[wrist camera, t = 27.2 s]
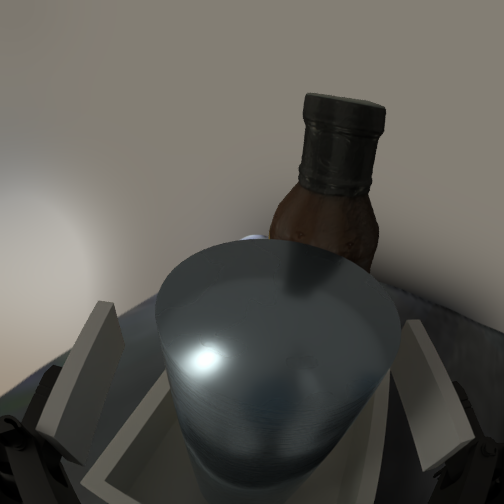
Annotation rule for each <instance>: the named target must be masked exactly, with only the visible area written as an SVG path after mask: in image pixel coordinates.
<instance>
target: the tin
mask: <svg viewBox="0 0 504 504" xmlns="http://www.w3.org/2000/svg"><path fill="white" fill-rule="evenodd" d="M155 317H156V323H157V328H158V334H159V339H160V344H161V349H162V354H163V359H164V363H165V368H166V372H167V377H168V381H169V385H170V390H171V394H172V398H173V402H174V406H175V410H176V413H177V417H178V421H179V425H180V428H181V432H182V435H183V439H184V442H185V446H186V449H187V452H188V455H189V459H190V462H191V465H192V468H193V471H194V474H195V477H196V480H197V483H198V486H199V489H200V491H201V493H202V495H203V497H204V498H205V500H206V501H207V502H208V503H209V504H284V503H285V502H286V501H287V500H288V499H289V498H290V497H291V496H292V495H293V494H294V493H295V492H296V491H297V490H298V489H299V488H300V486H301V485H302V484H303V483H304V482H305V481H306V480H307V479H308V478H309V477H310V476H311V474H312V473H313V472H314V471H315V470H316V469H317V468H318V466H319V465H320V464H321V463H322V462H323V461H324V459H325V458H326V457H327V456H328V455H329V453H330V452H331V451H332V450H333V448H334V447H335V446H336V445H337V443H338V442H339V441H340V440H341V438H342V437H343V436H344V434H345V433H346V432H347V431H348V429H349V428H350V427H351V425H352V424H353V422H354V421H355V420H356V418H357V417H358V416H359V414H360V413H361V411H362V410H363V408H364V407H365V406H366V404H367V403H368V401H369V400H370V398H371V397H372V395H373V394H374V392H375V391H376V389H377V388H378V386H379V385H380V383H381V381H382V380H383V378H384V377H385V375H386V373H387V372H388V370H389V368H390V367H391V365H392V363H393V361H394V359H395V357H396V355H397V353H398V350H399V346H400V342H401V324H400V318H399V315H398V311H397V309H396V307H395V304H394V302H393V300H392V299H391V297H390V296H389V294H388V293H387V291H386V290H385V289H384V288H383V287H382V285H381V284H380V283H379V282H378V281H377V280H376V279H374V277H372V276H371V275H370V274H369V273H368V272H366V271H365V270H364V269H362V268H361V267H359V266H358V265H356V264H355V263H353V262H351V261H349V260H348V259H346V258H344V257H342V256H340V255H337V254H335V253H333V252H330V251H327V250H325V249H322V248H319V247H315V246H312V245H308V244H303V243H299V242H293V241H286V240H276V239H248V240H239V241H233V242H228V243H223V244H220V245H216V246H212V247H210V248H207V249H204V250H202V251H200V252H198V253H196V254H194V255H192V256H190V257H189V258H187V259H186V260H184V261H183V262H181V263H180V264H179V265H178V266H177V267H176V268H174V269H173V270H172V272H171V273H170V274H169V275H168V276H167V278H166V279H165V281H164V282H163V284H162V286H161V288H160V290H159V293H158V296H157V301H156V310H155Z"/></svg>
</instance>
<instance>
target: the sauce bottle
mask: <svg viewBox="0 0 504 504" xmlns="http://www.w3.org/2000/svg"><path fill="white" fill-rule="evenodd" d="M385 115H386V109H385V107H384V106H381V105H379V104H376V103H373V102H370V101H366V100H358V99H351V98H345V97H336V96H331V95H324V94H317V93H307V94H306V96H305V101H304V108H303V119H304V122H305V125H306V128H305V136H304V146H303V154H302V161H301V164H300V165H299V176H298V179H299V182H298V183H297V184H296V185H295V187H293V188H292V190H291V191H290V192H289V193H288V194H287V195H286V197H285V198H284V199H283V201H282V202H281V203H280V204H279V205H278V208H277V210H276V212H275V214H274V217H273V220H272V224H271V226H270V230H269V239H276V240H286V241H293V242H299V243H303V244H308V245H312V246H315V247H319V248H322V249H325V250H327V251H330V252H333V253H335V254H337V255H340V256H342V257H344V258H346V259H348V260H349V261H351V262H353V263H355V264H356V265H358V266H359V267H361V268H362V269H364V270H365V271H366V272H368V273H369V274H370V267H371V264H372V260H373V257H374V254H375V251H376V248H377V245H378V239H379V226H378V223H377V222H376V218H375V215H374V212H373V208H372V206H371V202H370V199H369V195H368V193H369V191H370V186H371V184H372V177H371V176H372V173H373V165H374V160H375V154H376V149H377V144H378V140H379V138H380V136H381V135H382V134H383V132H384V126H385Z"/></svg>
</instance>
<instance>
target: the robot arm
mask: <svg viewBox="0 0 504 504" xmlns="http://www.w3.org/2000/svg"><path fill="white" fill-rule="evenodd" d="M124 347H125V343H124V340H123V337H122V333H121V329H120V326H119V322H118V318H117V314H116V310H115V306H114V303H111V302H105V301H98V302H97V304H96V306H95V307H94V309H93V311H92V313H91V314H90V316H89V318H88V320H87V322H86V324H85V325H84V327H83V329H82V331H81V333H80V335H79V336H78V339H77V341H76V342H75V344H74V346H73V348H72V350H71V352H70V354H69V356H68V358H67V360H66V362H65V364H64V366H63V367H59V366H56V365H52V366H51V367H50V368H49V369H48V370H47V371H46V372H45V373H44V375H43V377H42V379H41V381H40V383H39V386H38V387H37V389H36V391H35V392H36V393H35V394H34V396H33V398H32V400H31V402H30V404H29V406H28V409H27V411H26V413H25V415H24V418H23V420H22V422H21V423H20V422H19V421H18V420H17V419H16V418H15V417H13V416H10V415H5V416H2V417H0V504H81V503H80V501H79V499H78V497H77V495H76V493H75V491H74V489H73V487H72V485H71V483H70V481H69V479H68V477H67V474H66V472H65V470H64V468H63V465H62V463H61V462H60V460H61V457H62V456H63V457H64V458H65V459H66V460H68V461H70V462H73V463H76V464H78V465H81V466H84V467H85V463H86V460H87V456H88V453H89V449H90V446H91V442H92V439H93V436H94V433H95V429H96V426H97V423H98V420H99V417H100V414H101V411H102V408H103V405H104V402H105V399H106V396H107V393H108V390H109V387H110V385H111V382H112V379H113V376H114V374H115V371H116V368H117V365H118V363H119V360H120V357H121V355H122V352H123V350H124ZM390 370H391V373H392V375H393V378H394V381H395V384H396V387H397V389H398V392H399V395H400V398H401V401H402V404H403V407H404V410H405V413H406V416H407V419H408V423H409V426H410V429H411V432H412V435H413V439H414V442H415V445H416V449H417V452H418V456H419V459H420V463H421V467H422V470H423V472H424V471H427V470H430V469H434V468H437V467H438V466H440V465H441V464H442V463H444V462H445V464H446V466H445V467H444V468H442V469H441V470H439V471H438V472H437V473H435V475H434V476H433V478H435V477H437V476H438V475H440V474H441V475H440V477H439V478H438V482H437V485H436V487H435V489H434V491H433V494H432V496H431V498H430V500H429V502H428V504H504V443H496V442H495V441H494V440H493V439H492V438H490V437H485V436H484V434H483V432H482V430H481V427H480V425H479V422H478V420H477V418H476V415H475V413H474V411H473V408H471V404H470V402H469V401H468V397H467V395H466V393H465V391H464V389H463V388H462V387H461V385H460V384H459V383H458V382H457V381H454V382H451V380H450V378H449V376H448V374H447V371H446V369H445V367H444V365H443V363H442V361H441V359H440V357H439V355H438V353H437V351H436V349H435V347H434V345H433V343H432V342H431V340H430V338H429V336H428V334H427V332H426V330H425V328H424V327H423V325H422V323H421V321H420V320H407V321H406V323H405V325H404V327H403V329H402V331H401V342H400V346H399V350H398V353H397V355H396V357H395V359H394V361H393V363H392V365H391V367H390ZM500 476H501V477H500ZM499 477H500V478H499Z"/></svg>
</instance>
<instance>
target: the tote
mask: <svg viewBox="0 0 504 504" xmlns="http://www.w3.org/2000/svg"><path fill="white" fill-rule="evenodd" d="M389 382H390V368H389V370H388V372H387V373H386V375H385V377H384V378H383V380H382V381H381V383H380V385H379V386H378V388H377V389H376V391H375V392H374V394H373V395H372V397H371V398H370V400H369V401H368V403H367V404H366V406H365V407H364V408H363V410H362V411H361V413H360V414H359V416H358V417H357V418H356V420H355V421H354V422H353V424H352V425H351V427H350V428H349V429H348V431H347V432H346V433H345V434H344V436H343V437H342V438H341V440H340V441H339V442H338V443H337V445H336V446H335V447H334V448H333V450H332V451H331V452H330V453H329V455H328V456H327V457H326V458H325V459H324V461H323V462H322V463H321V464H320V465H319V466H318V468H317V469H316V470H315V471H314V472H313V473H312V474H311V476H310V477H309V478H308V479H307V480H306V481H305V482H304V483H303V484H302V485H301V486H300V488H299V489H298V490H297V491H296V492H295V493H294V494H293V495H292V496H291V497H290V498H289V499H288V500H287V501H286V502H285V503H284V504H374V500H375V495H376V490H377V485H378V479H379V474H380V467H381V461H382V454H383V447H384V439H385V431H386V421H387V411H388V398H389ZM80 483H81V484H82V485H83V486H85V487H86V488H87V489H89V490H90V491H91V492H93V493H94V494H96V495H97V496H99V497H100V498H102V499H103V500H105V501H106V502H108V503H109V504H209V503H208V502H207V501H206V500H205V498H204V497H203V495H202V493H201V491H200V489H199V486H198V483H197V480H196V477H195V474H194V471H193V468H192V465H191V462H190V459H189V455H188V452H187V449H186V446H185V442H184V439H183V435H182V432H181V428H180V425H179V421H178V417H177V413H176V410H175V406H174V402H173V398H172V394H171V390H170V385H169V381H168V377H167V372H166V369H165V371H164V372H163V373H162V375H161V376H160V377H159V379H158V380H157V381H156V383H155V384H154V385H153V387H152V388H151V389H150V391H149V392H148V393H147V395H146V396H145V397H144V399H143V400H142V401H141V403H140V404H139V405H138V407H137V408H136V409H135V411H134V412H133V413H132V415H131V416H130V417H129V419H128V420H127V421H126V423H125V424H124V425H123V427H122V428H121V429H120V431H119V432H118V433H117V435H116V436H115V437H114V438H113V440H112V441H111V442H110V444H109V445H108V446H107V448H106V449H105V450H104V452H103V453H102V454H101V456H100V457H99V458H98V460H97V461H96V462H95V464H94V465H93V466H92V468H91V469H90V470H89V472H88V473H87V474H86V476H85V477H84V478H83V480H82V481H81V482H80Z"/></svg>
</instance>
